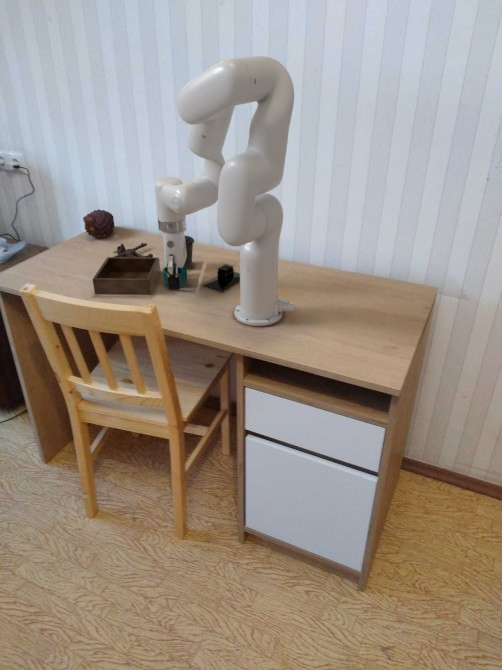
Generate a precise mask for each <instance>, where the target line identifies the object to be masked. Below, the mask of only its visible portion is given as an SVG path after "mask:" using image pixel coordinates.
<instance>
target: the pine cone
mask: <svg viewBox="0 0 502 670" xmlns="http://www.w3.org/2000/svg"><path fill="white" fill-rule="evenodd" d="M82 221H83V223H84V230H85V233H88V234H87V235H88V236H91V237H93V238H100V239H102V238H104V237H105V238H106V237H108V235H111V233H112V232H113V230H114V229H115V227H116V225H115V217H114V215H113V214H112V213H111V212H109V211H107V210H104V209H94V210H93V211H90V213H86V215H85V216H83V218H82Z"/></svg>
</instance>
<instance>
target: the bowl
mask: <svg viewBox="0 0 502 670" xmlns="http://www.w3.org/2000/svg"><path fill="white" fill-rule="evenodd" d="M173 266H176V265H173ZM173 270H175V273H176V269H173ZM167 276H168V268H167V267H166V266H164V267H163V268H162V277H163V278H162V279H163V285H165V286H166V287H168V277H167ZM178 276H179V280H180V288H182V287H185V286H186V285H188V284H189V269H188V268H187V267H186V266H183V267H182V268H180V267H178Z"/></svg>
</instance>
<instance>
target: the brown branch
mask: <svg viewBox="0 0 502 670" xmlns="http://www.w3.org/2000/svg"><path fill="white" fill-rule="evenodd" d="M147 246H148V243H146V242H141V243H140V244H139V245H137V246H135V247H133V248H126V247H125V244H124V243H120V245H119V246H117V248H116V250H113V251H112V253H113V254H117V255H115V256H113V257H143V258H154V255H153V253H148V254H147V255H142V254H140V253H137V251H138V250H140V249H142V248H145V247H147Z"/></svg>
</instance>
